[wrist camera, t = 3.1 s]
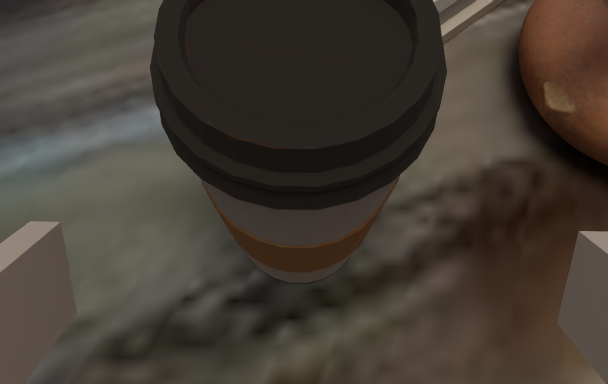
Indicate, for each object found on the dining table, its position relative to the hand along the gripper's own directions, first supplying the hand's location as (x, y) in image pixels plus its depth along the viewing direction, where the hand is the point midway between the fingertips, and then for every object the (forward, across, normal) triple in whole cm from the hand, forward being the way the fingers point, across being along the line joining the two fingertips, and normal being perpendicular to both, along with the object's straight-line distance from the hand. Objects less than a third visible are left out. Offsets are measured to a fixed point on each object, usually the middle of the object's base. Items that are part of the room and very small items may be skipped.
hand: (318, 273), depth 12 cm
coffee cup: (+13, -1, -5) cm, 14 cm away
